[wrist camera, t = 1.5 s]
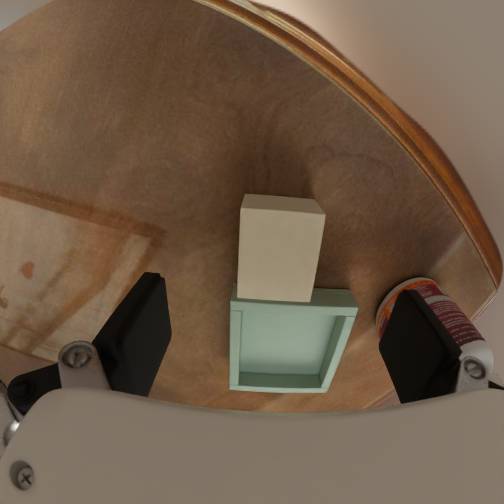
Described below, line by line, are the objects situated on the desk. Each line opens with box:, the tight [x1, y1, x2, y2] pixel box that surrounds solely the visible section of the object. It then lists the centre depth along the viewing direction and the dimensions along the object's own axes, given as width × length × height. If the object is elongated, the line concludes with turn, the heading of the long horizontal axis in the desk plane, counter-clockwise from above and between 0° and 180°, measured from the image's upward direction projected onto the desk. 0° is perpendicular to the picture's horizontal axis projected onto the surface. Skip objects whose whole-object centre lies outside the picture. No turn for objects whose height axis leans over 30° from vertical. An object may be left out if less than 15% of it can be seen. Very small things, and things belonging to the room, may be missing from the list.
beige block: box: [237, 194, 325, 302], centre depth 15 cm, size 5×4×3 cm
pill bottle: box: [376, 277, 504, 387], centre depth 13 cm, size 6×6×11 cm
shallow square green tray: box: [229, 283, 358, 393], centre depth 18 cm, size 9×8×2 cm
